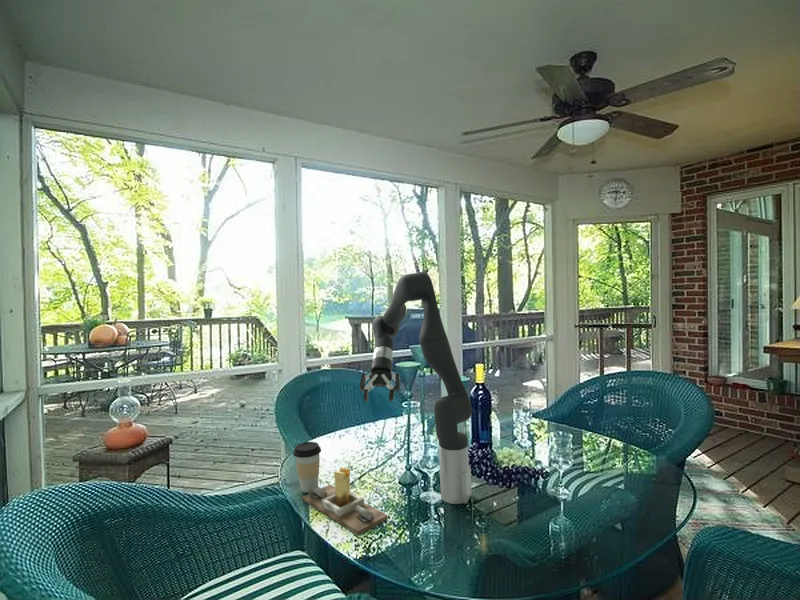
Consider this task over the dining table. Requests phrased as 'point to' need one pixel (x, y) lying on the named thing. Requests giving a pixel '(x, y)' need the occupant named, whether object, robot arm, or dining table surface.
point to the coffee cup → (307, 464)
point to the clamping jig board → (345, 509)
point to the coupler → (342, 486)
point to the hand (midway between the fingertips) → (378, 400)
